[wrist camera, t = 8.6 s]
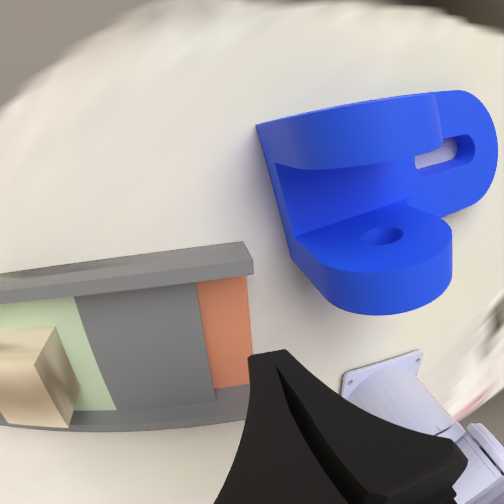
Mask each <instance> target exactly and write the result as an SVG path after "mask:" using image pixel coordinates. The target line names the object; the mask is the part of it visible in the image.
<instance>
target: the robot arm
mask: <svg viewBox="0 0 504 504" xmlns="http://www.w3.org/2000/svg"><path fill="white" fill-rule="evenodd" d="M422 355H423V353H422V351H421V350H416V351H413V352H410V353H408V354H405V355H402V356H398V357H395V358H392V359H389V360H386V361H383V362H380V363H376V364H373V365H370V366H366V367H363V368H359V369H356V370H352V371H349V372H347V373H345V375H344V377H343V383H342V390H341V396H340V395H339V394H337V393H336V392H335V391H333V390H332V389H330V388H329V387H328V386H326V385H325V384H324V383H323V382H321V381H320V380H319V379H318V378H317V377H315V376H314V375H313V374H312V373H311V372H309V371H308V370H307V369H306V368H305V367H304V366H303V365H302V364H301V363H300V362H298V361H297V360H296V359H295V358H294V357H293V356H292V355H291V354H290V353H289V352H288V351H287V350H286V349H283V350H278V351H272V352H267V353H261V354H255V355H250V356H249V357H248V358H247V360H248V371H249V381H250V396H249V404H248V410H247V416H246V421H245V426H244V430H243V434H242V437H241V441H240V444H239V447H238V450H237V453H236V456H235V459H234V462H233V464H232V467H231V469H230V471H229V474H228V476H227V478H226V480H225V483H224V485H223V487H222V489H221V491H220V493H219V495H218V497H217V498H216V500H215V502H214V504H504V448H503V446H502V445H501V444H500V443H499V442H498V441H497V439H496V438H495V437H494V436H493V435H492V434H491V433H490V432H489V431H488V430H487V429H486V428H485V427H484V426H483V425H482V424H481V423H477V424H473V423H471V424H469V425H468V426H467V430H468V431H469V432H470V433H471V434H472V436H473V438H474V440H475V441H476V442H477V443H478V444H479V445H480V447H479V446H478V445H477V444H476V443H475V442H474V440H473V439H472V438H471V437H470V436H469V435H468V433H467V432H466V431H465V430H464V429H463V428H462V426H461V425H460V424H459V423H458V422H456V421H455V420H454V419H453V418H452V417H451V415H450V414H449V413H448V412H447V411H446V410H445V408H444V407H443V406H442V405H441V404H440V403H439V402H438V400H437V399H436V398H435V397H434V396H433V395H432V394H431V392H430V391H429V390H428V389H427V388H426V387H425V386H424V385H423V383H422V382H421V381H420V380H419V379H418V378H417V377H416V376H417V372H418V369H419V366H420V362H421V359H422ZM348 381H349V382H348ZM495 466H497V467H498V468H499V469H500V471H501V473H500V472H499V470H498V469H497V468H496V467H495Z"/></svg>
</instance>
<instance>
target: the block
mask: <svg viewBox="0 0 504 504" xmlns="http://www.w3.org/2000/svg"><path fill="white" fill-rule="evenodd" d="M80 387H81V386H80V384H79V381H78V379H77V377H76V375H75V373H74V370H73V368H72V366H71V364H70V361H69V359H68V357H67V354H66V352H65V349H64V347H63V344H62V342H61V339H60V337H59V334H58V332H57V329H56V326H45V327H29V328H12V329H0V412H1V413H2V415H3V416H4V418H5V419H6V421H7V422H8V423H11V424H20V425H30V426H43V427H59V428H69V424H70V421H71V417H72V414H73V410H74V407H75V403H76V400H77V397H78V394H79V390H80Z"/></svg>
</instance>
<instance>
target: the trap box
mask: <svg viewBox="0 0 504 504" xmlns="http://www.w3.org/2000/svg"><path fill="white" fill-rule="evenodd" d="M251 274H254V270H253V259H252V257H251V255H250V254H249V252H248V250H247V248H246V246H245V244H244V243H243V241H242V242H234V243H226V244H218V245H210V246H202V247H194V248H186V249H178V250H170V251H163V252H155V253H147V254H140V255H132V256H124V257H117V258H109V259H102V260H95V261H87V262H80V263H73V264H65V265H58V266H51V267H44V268H37V269H30V270H23V271H16V272H9V273H2V274H0V329H12V328H29V327H45V326H56V329H57V332H58V334H59V337H60V339H61V342H62V344H63V347H64V349H65V352H66V354H67V357H68V359H69V361H70V364H71V366H72V368H73V370H74V373H75V375H76V377H77V379H78V381H79V384H80V386H81V387H80V390H79V394H78V397H77V400H76V403H75V407H74V410H73V414H72V417H71V421H70V424H69V428H59V427H43V426H30V425H20V424H11V423H8V422H7V421H6V419H5V418H4V416H3V415H2V413H1V412H0V425H2V426H9V427H18V428H27V429H38V430H52V431H71V432H130V431H150V430H165V429H177V428H187V427H196V426H205V425H212V424H220V423H227V422H233V421H239V420H245V419H246V416H247V410H248V404H249V396H250V381H249V371H248V360H247V358H248V357H249V356H250V355H252V344H251V332H250V320H249V307H248V295H247V282H246V275H251Z"/></svg>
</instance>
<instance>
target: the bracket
mask: <svg viewBox="0 0 504 504" xmlns="http://www.w3.org/2000/svg"><path fill="white" fill-rule="evenodd" d="M256 128H257V132H258V135H259V139H260V142H261V146H262V149H263V153H264V156H265V160H266V163H267V167H268V171H269V174H270V178H271V182H272V185H273V189H274V193H275V197H276V200H277V204H278V208H279V212H280V215H281V219H282V223H283V227H284V231H285V235H286V239H287V242H288V246H289V250H290V254H291V258H292V260H293V261H294V262H295V263H296V264H297V266H298V267H299V268H300V269H301V270H302V271H303V272H304V274H305V275H306V276H307V277H308V278H309V279H310V281H311V282H312V283H313V284H314V285H315V287H316V288H317V289H318V290H319V291H320V292H321V294H322V295H323V296H324V297H325V298H326V299H327V300H328V301H329V302H330V303H332V304H333V305H335V306H336V307H338V308H340V309H343V310H346V311H349V312H352V313H357V314H363V315H392V314H399V313H404V312H408V311H411V310H414V309H417V308H420V307H422V306H424V305H426V304H428V303H430V302H432V301H433V300H435V299H436V298H438V297H439V296H440V295H441V294H442V293H443V292H444V291H445V290H446V289H447V287H448V286H449V284H450V281H451V278H452V231H451V228H450V227H449V225H448V224H447V223H446V222H445V221H444V220H442V219H440V218H441V217H444V216H446V215H449V214H451V213H453V212H456V211H458V210H461V209H463V208H466V207H468V206H470V205H473V204H475V203H476V202H478V201H479V200H480V199H481V198H482V197H483V196H484V195H485V193H486V192H487V190H488V189H489V187H490V185H491V183H492V181H493V178H494V175H495V171H496V167H497V159H498V143H497V136H496V131H495V127H494V124H493V121H492V119H491V117H490V115H489V113H488V111H487V109H486V108H485V106H484V105H483V104H482V103H481V101H480V100H479V99H477V98H476V97H475V96H474V95H472V94H470V93H468V92H466V91H461V90H454V91H440V92H429V93H420V94H411V95H403V96H396V97H389V98H382V99H375V100H369V101H363V102H357V103H352V104H346V105H341V106H336V107H330V108H326V109H321V110H316V111H311V112H307V113H302V114H298V115H294V116H289V117H285V118H281V119H277V120H273V121H269V122H265V123H261V124H257V125H256ZM450 137H455V138H456V141H457V145H458V149H457V154H456V156H455V157H454V158H453V159H452V160H449V161H446V162H442V163H439V164H435V165H431V166H428V167H424V168H421V169H416V167H415V163H414V156H416V155H420V154H424V153H427V152H430V151H433V150H435V149H437V148H439V147H441V146H442V145H443V144H444V141H443V139H445V138H450Z"/></svg>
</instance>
